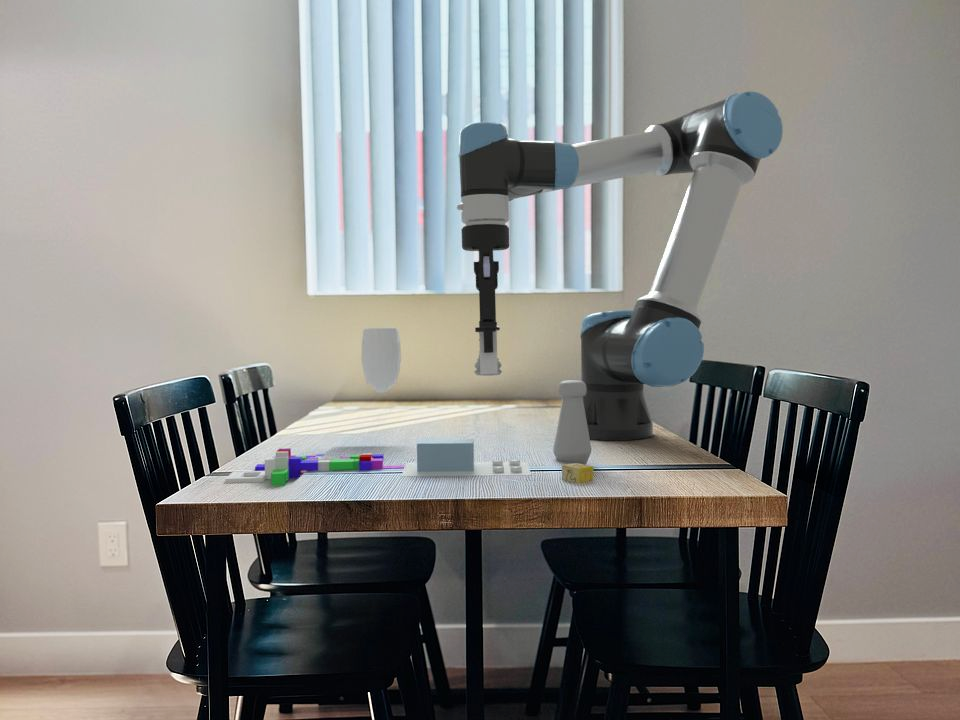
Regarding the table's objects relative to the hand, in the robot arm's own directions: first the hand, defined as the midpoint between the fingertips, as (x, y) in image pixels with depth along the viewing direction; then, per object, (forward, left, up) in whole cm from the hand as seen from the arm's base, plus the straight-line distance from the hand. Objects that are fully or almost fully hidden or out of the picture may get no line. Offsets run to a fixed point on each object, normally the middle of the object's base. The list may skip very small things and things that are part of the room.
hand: (488, 372), depth 128 cm
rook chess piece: (0, 0, -1) cm, 1 cm away
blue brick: (+6, +13, -13) cm, 20 cm away
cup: (+19, -18, -14) cm, 30 cm away
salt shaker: (-13, +6, -14) cm, 20 cm away
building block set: (+25, +8, -15) cm, 31 cm away
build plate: (+3, +13, -14) cm, 19 cm away
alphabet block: (-12, +21, -14) cm, 28 cm away
